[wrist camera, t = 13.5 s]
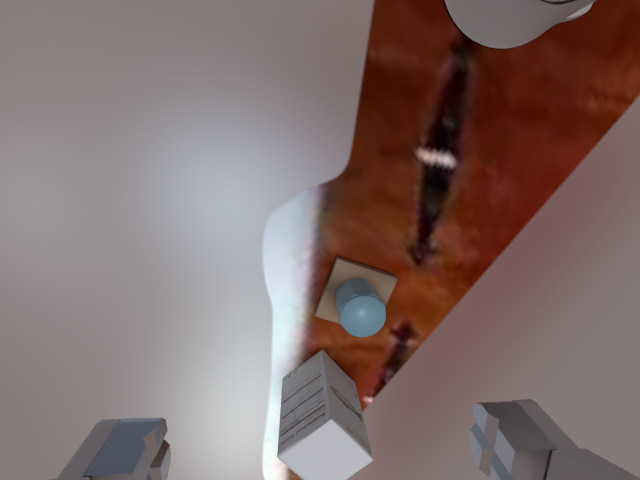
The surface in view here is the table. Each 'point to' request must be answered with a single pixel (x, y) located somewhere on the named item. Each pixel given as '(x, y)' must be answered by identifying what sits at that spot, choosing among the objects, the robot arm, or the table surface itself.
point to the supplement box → (322, 422)
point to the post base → (351, 270)
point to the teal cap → (360, 308)
